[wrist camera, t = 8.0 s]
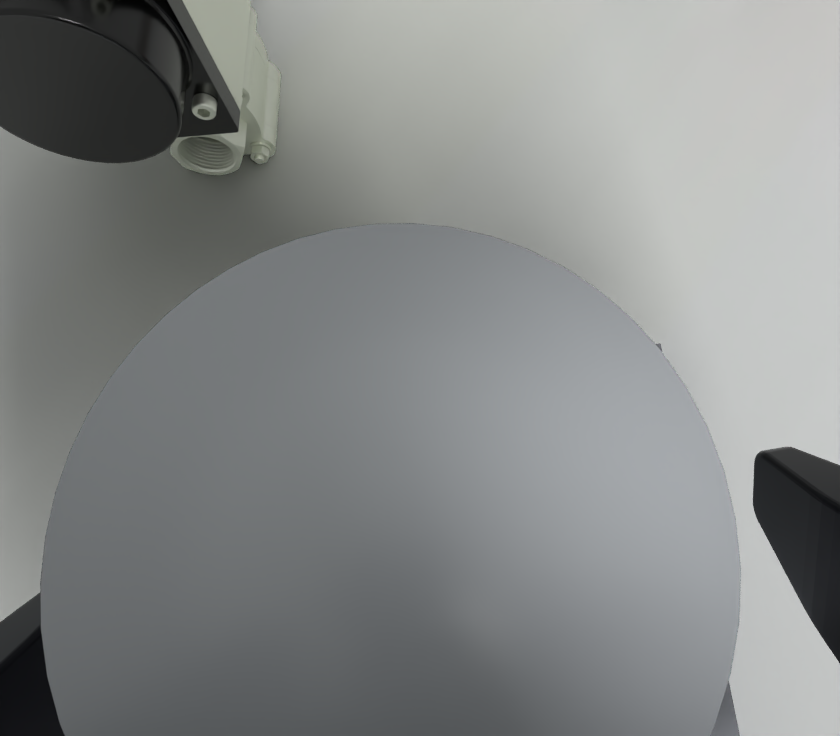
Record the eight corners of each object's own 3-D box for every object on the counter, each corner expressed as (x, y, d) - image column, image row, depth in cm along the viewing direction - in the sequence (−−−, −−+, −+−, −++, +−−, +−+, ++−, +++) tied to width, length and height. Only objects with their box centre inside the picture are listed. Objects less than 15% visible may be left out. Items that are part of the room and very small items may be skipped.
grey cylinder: (614, 662, 15) (963, 867, 4) (375, 734, 15) (27, 1147, 4) (531, 429, 17) (602, 114, 6) (320, 493, 17) (-14, 305, 6)
